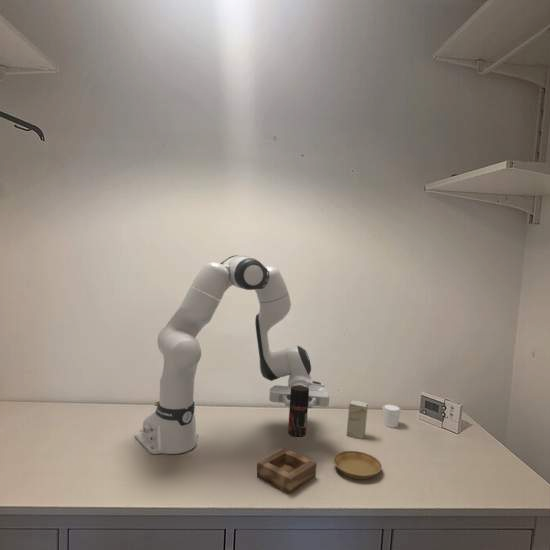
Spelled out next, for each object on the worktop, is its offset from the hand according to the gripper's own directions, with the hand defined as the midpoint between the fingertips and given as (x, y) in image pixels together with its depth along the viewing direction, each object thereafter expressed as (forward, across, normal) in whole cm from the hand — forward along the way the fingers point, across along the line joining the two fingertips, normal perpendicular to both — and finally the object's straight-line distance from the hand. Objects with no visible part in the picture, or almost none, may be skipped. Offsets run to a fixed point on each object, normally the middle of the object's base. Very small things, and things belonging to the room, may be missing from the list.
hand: (298, 404), depth 139 cm
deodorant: (0, 0, +10) cm, 10 cm away
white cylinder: (-30, +36, +17) cm, 50 cm away
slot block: (+13, -2, +17) cm, 22 cm away
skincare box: (-19, +22, +17) cm, 33 cm away
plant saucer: (+5, +19, +17) cm, 27 cm away
